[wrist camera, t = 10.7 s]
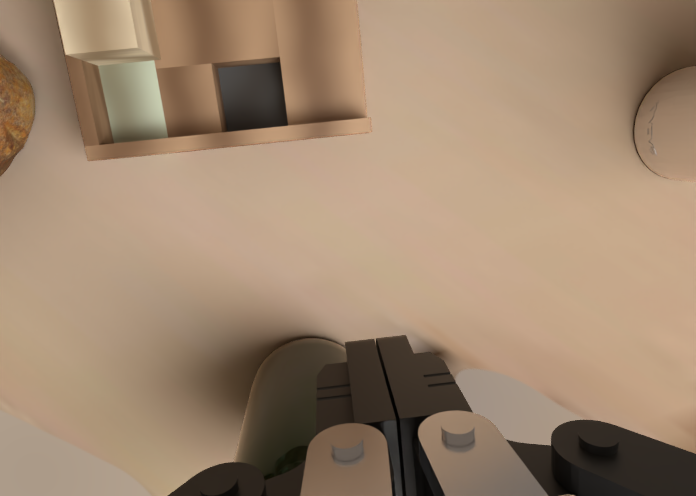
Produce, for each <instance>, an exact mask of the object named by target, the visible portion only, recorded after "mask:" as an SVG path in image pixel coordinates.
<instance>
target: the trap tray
mask: <svg viewBox="0 0 696 496" xmlns="http://www.w3.org/2000/svg"><path fill="white" fill-rule="evenodd" d="M53 5H54V9H55V4H54V0H53ZM151 5H152V11H153V16H154V22H155V28H156V33H157V39H158V44H159V50H160V56H161V60H152V61H142V62H132V63H121V64H111V65H100V66H98V65H95V64H92V63H89V62H86V61H83V60H80V59H77V58H74V57H71V56H68V55H65V50H64V45H63V41H62V36H61V32H60V27H59V23H58V18H57V14H56V9H55V14H56V18H57V23H58V27H59V32H60V37H61V41H62V46H63V50H64V55H65V59H66V64H67V69H68V73H69V78H70V82H71V87H72V91H73V96H74V101H75V105H76V110H77V114H78V119H79V123H80V128H81V132H82V137H83V142H84V146H85V151H86V155H87V160H88V161H94V160H107V159H119V158H128V157H138V156H148V155H157V154H167V153H177V152H187V151H196V150H206V149H216V148H226V147H235V146H245V145H255V144H265V143H274V142H284V141H294V140H304V139H313V138H323V137H333V136H343V135H352V134H362V133H369V132H372V125H371V117H370V118H367V108H366V97H365V85H364V74H363V63H362V51H361V40H360V29H359V17H358V6H357V0H151Z"/></svg>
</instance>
